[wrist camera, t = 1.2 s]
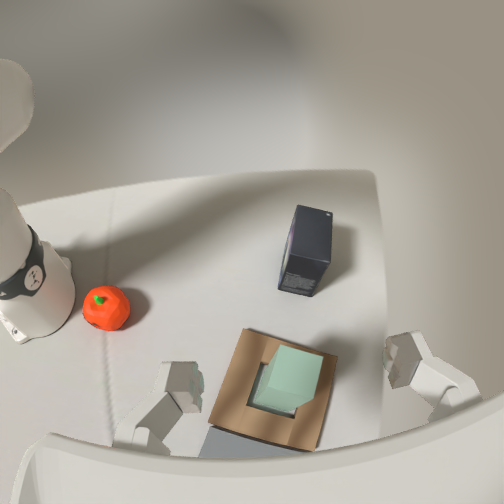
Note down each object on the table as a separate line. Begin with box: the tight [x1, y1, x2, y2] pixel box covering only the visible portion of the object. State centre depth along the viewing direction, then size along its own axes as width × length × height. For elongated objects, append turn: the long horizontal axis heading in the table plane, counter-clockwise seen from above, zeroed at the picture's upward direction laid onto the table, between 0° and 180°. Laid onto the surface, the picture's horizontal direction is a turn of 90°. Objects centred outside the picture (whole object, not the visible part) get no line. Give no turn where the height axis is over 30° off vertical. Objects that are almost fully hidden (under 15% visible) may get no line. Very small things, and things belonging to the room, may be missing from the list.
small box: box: [278, 205, 333, 297], centre depth 48 cm, size 11×6×10 cm, turn 168°
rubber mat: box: [198, 427, 303, 458], centre depth 29 cm, size 14×14×1 cm
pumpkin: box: [83, 286, 130, 331], centre depth 40 cm, size 7×8×6 cm
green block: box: [254, 344, 323, 412], centre depth 34 cm, size 5×5×12 cm
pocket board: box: [208, 328, 337, 451], centre depth 38 cm, size 15×15×1 cm
